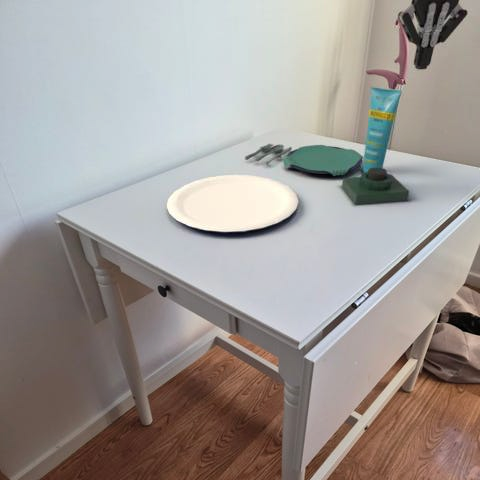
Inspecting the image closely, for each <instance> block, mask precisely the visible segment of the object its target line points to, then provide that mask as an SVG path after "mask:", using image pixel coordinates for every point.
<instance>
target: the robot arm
mask: <svg viewBox="0 0 480 480" xmlns="http://www.w3.org/2000/svg"><path fill="white" fill-rule="evenodd" d="M467 15H468V10H467V9H464V8H463V7H462V6H461V5H460V0H411V4H410V6H408V7H406V9H405V10H404V11H399V12H398V14H397V19H398V20H399V23H400V25H401V27H402V30H403V31H404V32H403V33H404V35H405V36H406V38H407V41H408V42H409V43H411V44H414V45H415V46H416V49H415V54H414V58H413V66H414V68H415V69H416V70H418V71H420V70H426V69H427V68H428V67H429V66H430V64H431V62H432V58H433V54H434V49H435V47H436V46H437V45H439V44H440V43H442V44H443V43H445V42H446V41H447V40H448V38H449V37H450V36H451V35H452V34H453V32H454V31H455V30H456V29H457V28H458V27H459V25H460V24H461V23H462V22H463V21H464V19H465V18H466V17H467ZM414 19H416V22H417V28H416V26H415V24H414Z"/></svg>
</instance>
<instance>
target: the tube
mask: <svg viewBox="0 0 480 480" xmlns="http://www.w3.org/2000/svg"><path fill="white" fill-rule="evenodd" d="M370 87H371V89H370V103H369V113H368V121H367V122H368V123H367V130H366V131H367V132H366V137H365V146H364V154H363V159H362V167H361V172H362V173H364V172H367V171H368V170H369V169H370V168H383V169H384V163H385V159H386V155H387V150H388V148H389V147H388V146H389V142H390V137H391V134H392V129H393V126H394V122H395V117H396V114H397V110H398V105H399V103H400V100H401V96H402V92H403V90H402V89H393V88H391V89H390V88H383V87H375V86H370Z"/></svg>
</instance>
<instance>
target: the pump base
mask: <svg viewBox="0 0 480 480" xmlns="http://www.w3.org/2000/svg"><path fill="white" fill-rule="evenodd" d="M367 175H368V171H367V172H362V173H361V174H360V176H354V177H343V178H342V183H341V188H342V189H343V190H344V192H345V193H346V195H347V196H348V197H349V199H350V200H351V201H352V202H353V203H354V204H355V205H368V204H369V205H370V204H381V203H393V202H394V203H395V202H407V201H408V198H409V194H410V190H409V189H407V188H406V187H405V185H403V184H402V182H400V181H399V180H398V179H397V178H396V177H395V176H394V175H393V174H389V173H388V172H387V173H386V178H385V180H383V181H375V180H370V179H368V178H367Z"/></svg>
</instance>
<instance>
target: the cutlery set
mask: <svg viewBox="0 0 480 480" xmlns="http://www.w3.org/2000/svg"><path fill="white" fill-rule="evenodd" d="M284 148H285V146H284V144H275V145H274V143H268V144H265V145H263V146H260V147H259V149H257V150H256V151H255V152H253V153H250V154H248V155H246V156H244V160H246V161H249V160H250V159H252V158H253V157H256V156H257V155H259V154H260V153H261V152H266V151H268V150H269V149H270V151H268V152H266V153H264V154H262V155H260V156H258V157H256V158H255V162H260V161H261V160H262V159H264V158H265V157H267V156H270V154H273V153H276V154H275V155H274V157H273V158H271V159H270V160H268V161H266V162H265V165H266V166H269V164H270V163H271V162H272V161H274V160H276V159H279V158H280V159H281V158H282V156H283V155H285V156H284V158H283V165H284V167H285V168H286V169H288V166H290V167H292V168H294V169H296V170H298V171H302V172H306V173H309V174H310V173H311V174H319V175H332V176H333V177H336V176H344V175H346V173H348V172H351V171H354V170H355V169H357V168H358V167H360V166H361V165H362V164H363V159H364V155H361V153H359V152H358V151H356V150H355V149H351V148H344V147H339V146H333V145H332V146H330V145H324V144H313V145H312V144H311V145H303V146H300V147H298V148H296V149H294V150H292V148H293V147H292V146H289V147H288V148H286V149H285V150H283V149H284ZM282 150H283V151H282ZM279 152H280V153H279Z"/></svg>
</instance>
